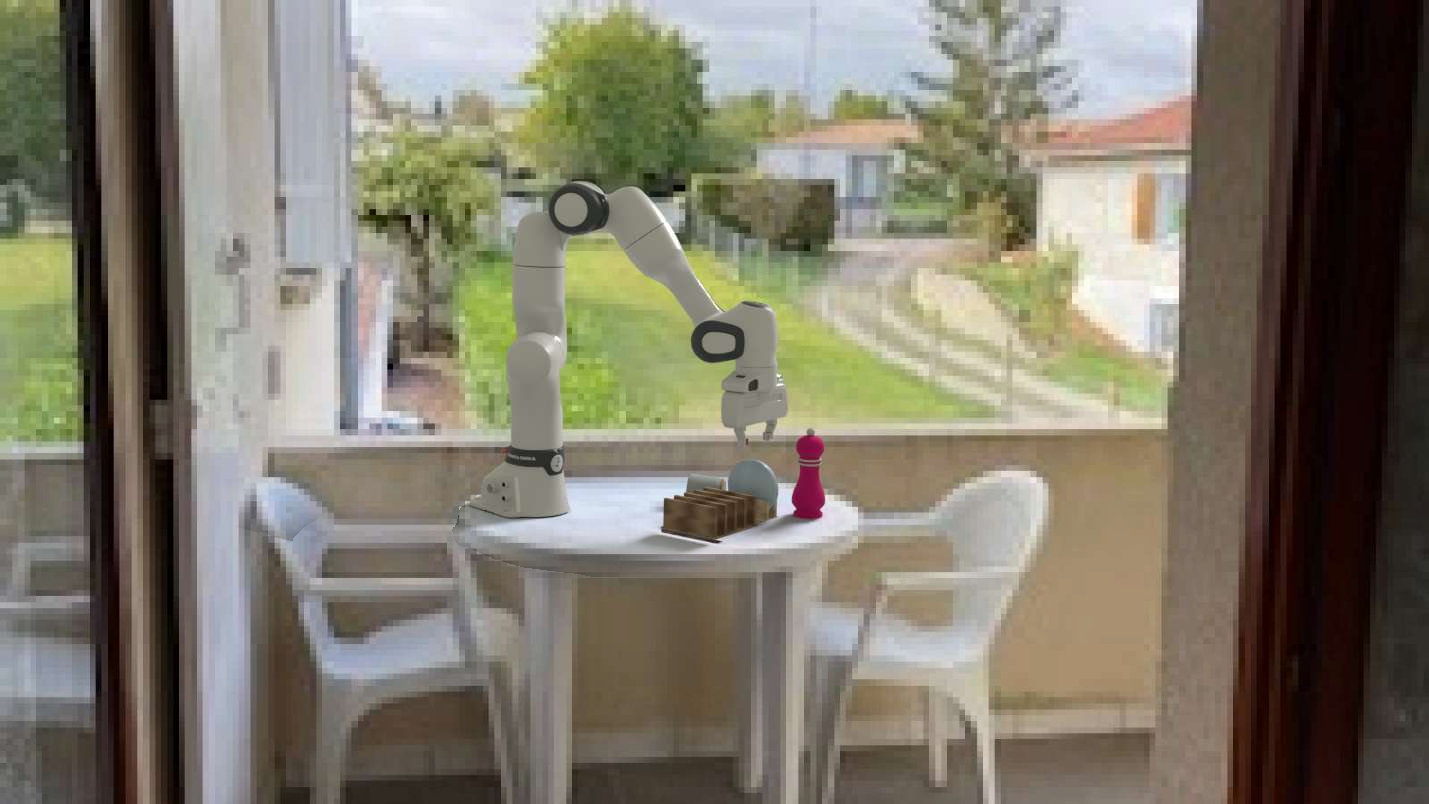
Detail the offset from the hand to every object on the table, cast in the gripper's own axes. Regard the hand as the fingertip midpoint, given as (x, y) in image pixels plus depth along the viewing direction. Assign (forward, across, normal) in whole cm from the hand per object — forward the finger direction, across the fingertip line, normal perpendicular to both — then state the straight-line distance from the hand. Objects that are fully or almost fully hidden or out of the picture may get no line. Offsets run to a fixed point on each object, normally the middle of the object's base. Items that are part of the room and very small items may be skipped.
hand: (755, 443), depth 310 cm
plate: (+16, 0, 0) cm, 16 cm away
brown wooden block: (+17, 0, 0) cm, 17 cm away
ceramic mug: (+17, -2, -15) cm, 22 cm away
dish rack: (+16, +14, -2) cm, 22 cm away
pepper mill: (+17, -8, +8) cm, 21 cm away
